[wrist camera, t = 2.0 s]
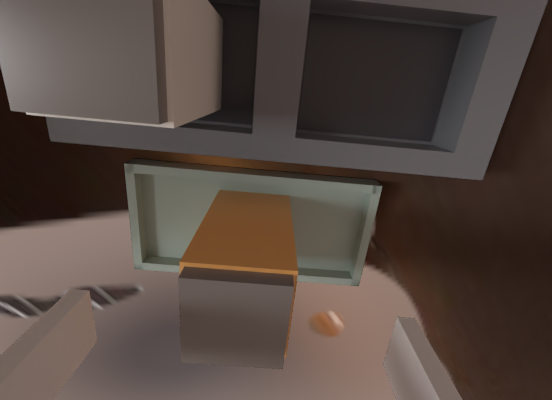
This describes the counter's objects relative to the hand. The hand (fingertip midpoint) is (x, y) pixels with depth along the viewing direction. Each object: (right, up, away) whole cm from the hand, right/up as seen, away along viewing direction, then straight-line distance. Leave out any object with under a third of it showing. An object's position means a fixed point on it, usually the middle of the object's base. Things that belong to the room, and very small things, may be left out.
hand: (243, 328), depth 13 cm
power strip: (-1, +14, +6) cm, 15 cm away
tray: (0, +4, +10) cm, 10 cm away
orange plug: (0, +4, +9) cm, 10 cm away
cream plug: (-4, +14, +5) cm, 15 cm away
